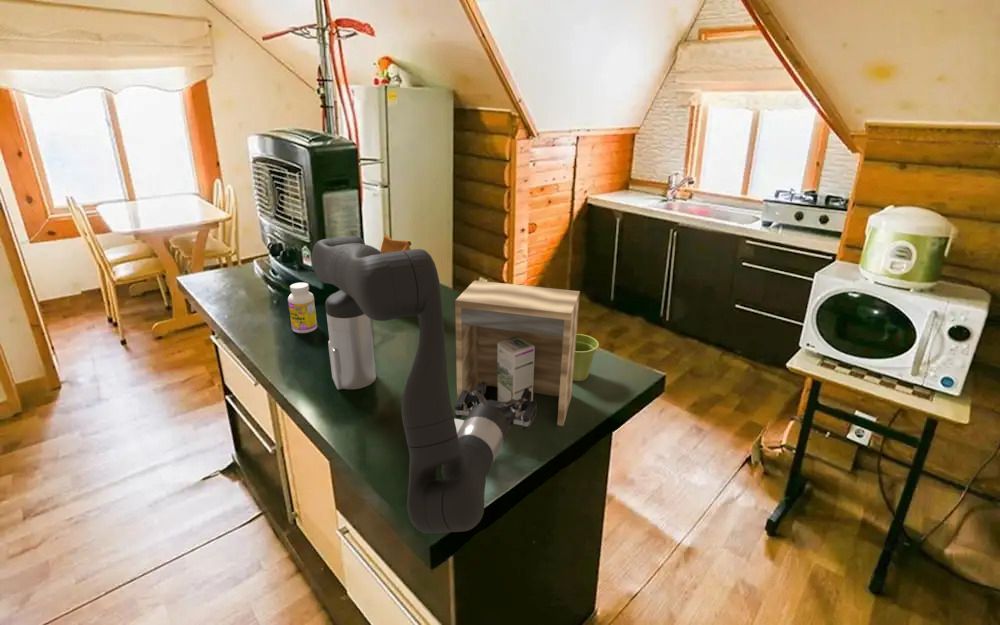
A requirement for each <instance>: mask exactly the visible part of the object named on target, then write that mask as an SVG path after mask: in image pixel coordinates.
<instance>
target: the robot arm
mask: <svg viewBox="0 0 1000 625" xmlns="http://www.w3.org/2000/svg"><path fill="white" fill-rule="evenodd" d="M380 251H381V250H379V249H377V248H376V247H374V246H372V245H368V244H366V243H365V241H364V240H363V238H362V237H360V236H357V235H351V236H349V235H348V236H341V237H331V238H329V237H328V238H324V239H319V240H318V241H317V242H315V244H314V245H313V248H312V251H311V264H312V267H313V271H314V273H315V275H316V276H317V278H318V279H319V280H320V281H321V282H322V283H324V284H330V285H333V286H335V287H337V288H338V289H339V290H338V291H336V292H334V293H332V294H330V295H329V296H328V297H327V298H326V300H325V313H326V314H325V315H326V322H327V330H328V339H329V340H328V341H327V343H328V353H329V361H330V369H331V379H332V380H333V382H334V385H335V387H336V389H337V390H343V389H344V390H358V389H362V388H366V387H367V386H370V385H371V384H373V383H374V382H375V381H376V380H377V379H376V377H377V375H376V374H377V373H376V372H377V370H376V362H375V350H374V338H373V328H372V326H373V325H372V320H373V321H377V322H386V321H390V320H391V321H392V320H396V319H401V318H405V317H412V316H417V317H418V326H419V327H418V328H419V338H418V339H419V340H418V344H417V345H418V346H417V349H416V355H415V357H414V361H413V364H412V367H411V370H410V372H409V375H408V378H407V381H406V384H405V387H404V390H403V393H402V397H401V398H402V399H401V418H402V423H403V430H404V434H405V435H404V436H405V439H406V443H407V448H408V454H409V463H408V464H409V466H408V487H407V502H406V508H407V513H408V514H407V515H408V518H409V520H410V522H411V523H412V525H413V527H414V528H415V529H417V531H419V532H420V533H422V534H423V533H424V534H442V533H459V532H468V531H470V530H472V529H473V528H475V527H477V526H478V524H479V523H480V522H481V520H482V518H483V516H484V512H485V490H486V483H487V482H486V480H487V476H488V474H489V472H490V470H491V467H492V466H493V463H494V461H495V460H496V459H497V457H498V456H499V453H500V452H501V450H502V448H503V444H504V442H505V441H506V438H507V435H508V433H509V430H510V428H511V427H512V426H513V425H519V426H521V429H522V430H523V431H528V430H530V428H531V425H532V423H533V421H534V419H535V418H536V416H537V407H538V406H537V403H538V402H537V401H536V400H533V401H531V391H529V389H528V388H525V390H524V392H523V394H522V396H521V399H518V400H515V399H512V400H510V401H508V402H498V401H497V400H494V399H486V398H485V396H484V395H485V394H486V392H487V385H486V382H482V383H481V384H478V385H477V387H476V388H475V390H473V391H472V392H468V390H463V391H462V392H461V394H460V396H459V398H458V400H457V399H456V402H455V404H454V411H453V407H452V401H451V397H450V387H449V380H448V369H447V352H446V338H445V337H446V336H445V324H444V311H443V300H442V299H443V298H442V292H441V291H442V288H441V283H440V278H439V274H438V269H437V267H436V266H437V265H436V263H435V261H434V259H433V256H431V254H430V253H429V252H428V251H427V250H426V249H425V250H424V249H422V248H420V249H419V248H416V249H415V248H413V249H411V250H405V251H397V252H390V253H381V252H380ZM530 401H531V402H530ZM469 403H472V405H471V407H469V408H468V405H469ZM520 405H521V407H520V408H519V406H520ZM510 407H512V410H511V408H510ZM463 416H466V418H465V419H464V420H465V421H464V422H463V424H462V426H461V428H460V429H459V431H458V433H457V430H456V425H455V420H454V419H460V418H462V417H463ZM438 467H441V475H442V478H440V479H437V468H438Z"/></svg>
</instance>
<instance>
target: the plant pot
mask: <svg viewBox="0 0 1000 625" xmlns="http://www.w3.org/2000/svg"><path fill="white" fill-rule="evenodd" d="M599 345H600V343H599V341H598V340H597V339H596V338H594V337H592V336H590V335H586V334H582V333H577V334H576V347H575V360H574V373H573V382H583V381H586V380H587V379H588V377H589V376H590V375H589V374H590V371H591V367H592V363H593V360H594V356H595V353H596V351H597V349H598V348H599Z"/></svg>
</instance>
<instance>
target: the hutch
mask: <svg viewBox="0 0 1000 625" xmlns="http://www.w3.org/2000/svg"><path fill="white" fill-rule="evenodd" d="M580 294H581V291H580V290H569V289H559V288H551V287H543V286H542V287H541V286H531V285H523V284H514V283H513V284H512V283H503V282H502V283H501V282H495V281H492V282H491V281H484V280H483V281H482V280H473V281H472V282H471V283H470V284H469V285H468V287H466V289H464V291H462V293H461V294H459V296H458V297H457V298H456V299H454V301H455V302H454V303H455V304H454V306H455V310H454V311H455V351H456V352H455V353H456V354H455V358H456V365H455V366H456V368H455V369H456V370H455V371H456V401H457V400H458V398H459V396H460V394H461V392H462V391H463V390H468V392H472V391H473V390H475V388H476V387H477V385H478V384H481V383H482V382H486V386H487V387H489V386H490V387H496V388H497V348H498V346H497V344H498V343H499V342H501V341H504V340H506V339H509V338H513V337H520V338H522V339H523V340H525V341H527V342H529V343H530V344H532V345H534V346H535V355H534V382H533V394H534V393H535V394H541V395H547V396H554V397H558V409H557V411H558V412H557V421H556V422H557V424H556V425H557V426H561V427H564V425H565V421H566V418H567V414H568V411H569V410H568V409H569V407H570V403H571V399H572V396H573V386H574V385H573V384H574V381H573V373H574V360H575V347H576V334H578V333H577V332H578V321H579V320H578V319H579V308H580V306H579V305H580V296H581V295H580Z"/></svg>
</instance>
